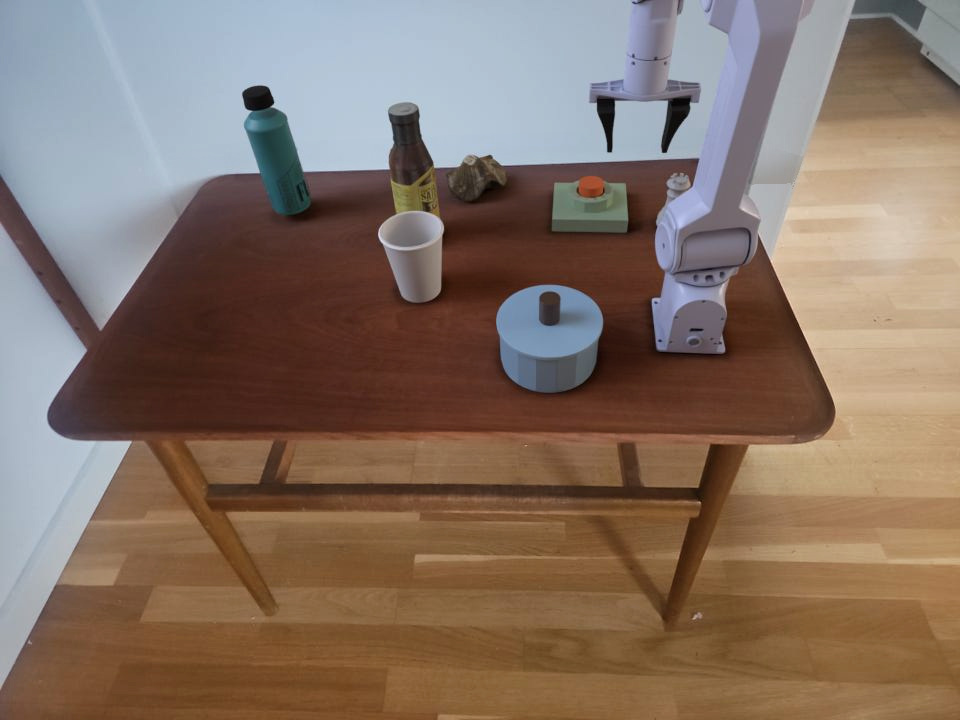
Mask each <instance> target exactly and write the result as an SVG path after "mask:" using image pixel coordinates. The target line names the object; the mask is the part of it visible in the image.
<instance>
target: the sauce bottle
mask: <svg viewBox="0 0 960 720" xmlns="http://www.w3.org/2000/svg"><path fill="white" fill-rule="evenodd" d="M387 116H388V120H389V123H390V125H391V131H392V141H393V144H392V147H391V149H390V151H389V154H388V167H389V173H390V174H389V177H390V184H391V189H392V191H391V192H392V195H393V202H394V209H395V215H396V214H399V213H403V212H408V211H423V212H428V213H431V214H433V215H435V216H437V217H438V218H439V219H440V220H441V215H440V207H439V197H438V190H437V189H438V188H437V181H436V172H435V163H434V160H433V158H432V156H431V154H430V152H429V150H428V148H427V146H426V143H425V141H424V140H423V135H422V133H421V123H420V119H421V114H420V107H419V106H418V104H416V103H413V102H408V101H405V102H398V103H396V104H392V105H391V106H390V107H389V108H388V110H387Z"/></svg>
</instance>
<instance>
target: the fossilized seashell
mask: <svg viewBox="0 0 960 720" xmlns="http://www.w3.org/2000/svg"><path fill="white" fill-rule="evenodd" d="M445 177H446V178H447V185H448V186H447V187H448V189H449V192H450V193H451V195H452V196H454V197H455V198H456V199H458V200H460V201H461V202H473V201H475V200H477V199H478V198H480V197H481V196H482V194H483V193H484V192H485V190H486V189H487V190H488V189H492V190H498V189H502V188H503V187H505V185H506V183H507V181H508V177H507V172H506V169H505V167H504V166H503V165H501V163H500V162H499V161H497V160H496V159H494V157H493V155H492V154H488V155H485V156H480V157H479V156H476V155H475V154H468V155H465V157H464V158H463V159H462V162H461V163H460V165H459V166H458V167H456V168H454V169H452V170H450V171H447V172H446V173H445Z"/></svg>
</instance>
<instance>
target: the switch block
mask: <svg viewBox="0 0 960 720" xmlns="http://www.w3.org/2000/svg"><path fill="white" fill-rule="evenodd" d="M579 181H580V179H579V180H576V181H574V182H554V185H553V199H552V201H553V202H552V215H551V216H552V218H551V232H565V233H566V232H569V233H570V232H571V233H572V232H575V233H621V234H622V233H625V234H626V233H627V232H628V226H629V212H628V209H629V208H628V197H627V186H626V185H627V184H626V183H625V182H607V181H605V180H603V182H604V184H603V194H602V195H601V196H599V197H596V198H585V197H582V196H580V195H579V193H578V191H579Z"/></svg>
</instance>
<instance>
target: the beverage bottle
mask: <svg viewBox="0 0 960 720" xmlns="http://www.w3.org/2000/svg"><path fill="white" fill-rule="evenodd" d="M241 97H242V99H243V105H244V108H245V109H246V110H247V111H250V112H249V114H248V115H247V117H246V118H245V120H244V122H243V128H244V130H245V133H246V136H247V139H248V141H249V144H250V146H251V149H252V153H253V155H254V158H255V161H256V166H257V169H258V172H259V175H260V177H261V181H262V185H263V187H264V189H265V191H266V196H267V198H268V201H269V205H270V206H271V208H272V209H273V210H274V211H275V213H277V214H279V215H283V216H292V215H293V216H294V215H297V214H300V213H302V212H304V211H306V210H307V209H308V208H309V207H310V205H311V204H312V195H311V190H310V187H309V184H308V180H307V179H306V178H307V177H306V175H305V174H304V172H305V171H304V168H303V164H302V162H301V159H300V157H299V153H298V148H297V145H296V143H295V140H294V136H293V134H292V131H291V127H290V123H289V121H288V120H289V119H288V116H287V114H286V113H285V112H283V111H282V110H280V109H278V108H275V107H273V106H274V105H275V99H274V96H273V94H272V91H271V89H270V88H269V86H266V85H262V84H261V85H260V84H259V85H252V86H250V87H247V88H246V89H244V90H243V91H242V93H241Z"/></svg>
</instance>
